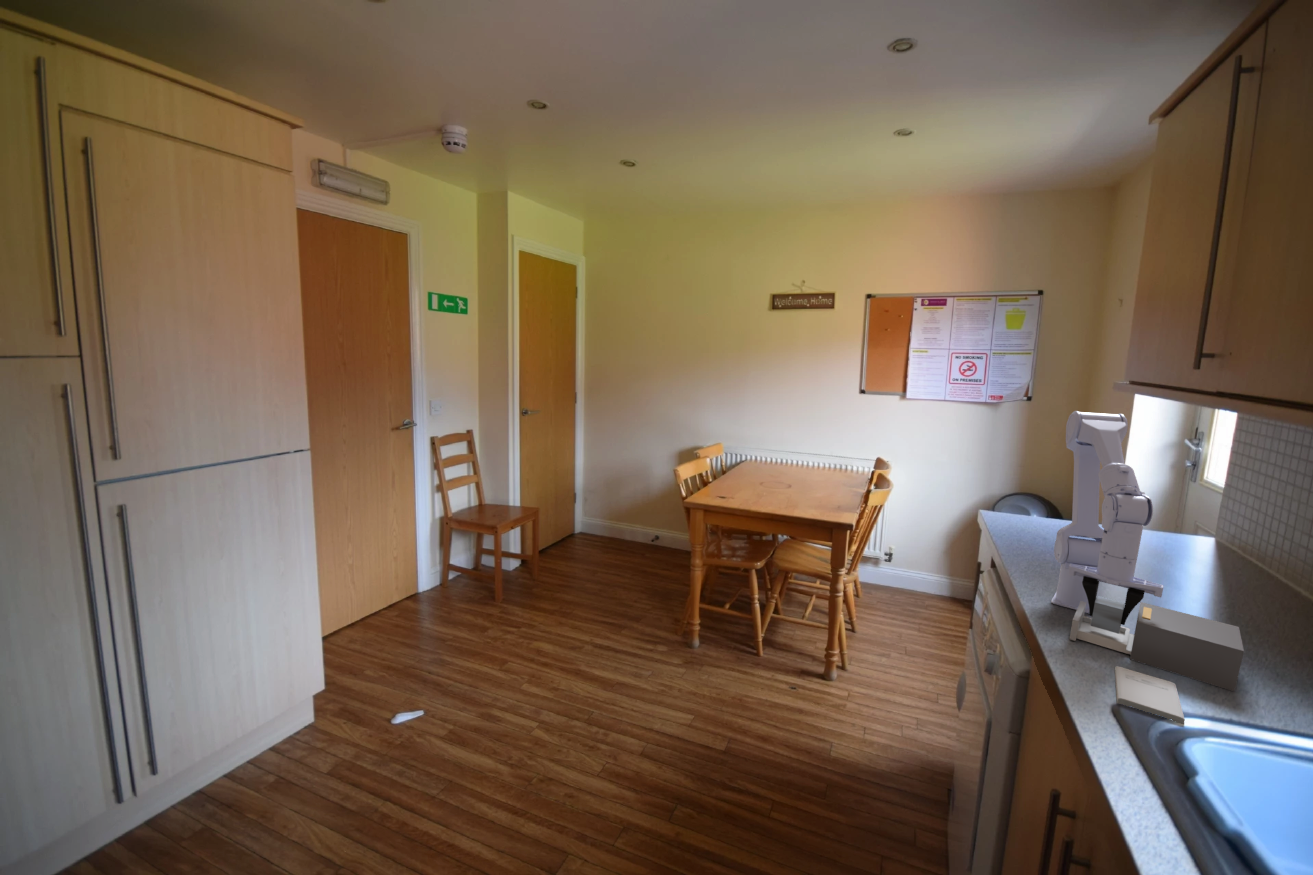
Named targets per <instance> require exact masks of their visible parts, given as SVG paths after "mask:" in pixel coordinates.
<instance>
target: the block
mask: <svg viewBox="0 0 1313 875" xmlns="http://www.w3.org/2000/svg"><path fill="white" fill-rule="evenodd" d="M1124 606H1125V602H1123V601H1121V600H1120V601H1119V600H1116V599H1111V598H1108V597H1105V596H1099V595H1097V596H1096V601H1095V604H1094V610H1093V616H1091V618H1092V621H1091V626H1093V627H1097V628H1100V629H1104V630H1107V631H1111V632H1114V633H1118V634H1119V631H1120V627H1121V626H1122V624H1121V620H1122V614H1123V610H1124Z"/></svg>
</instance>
